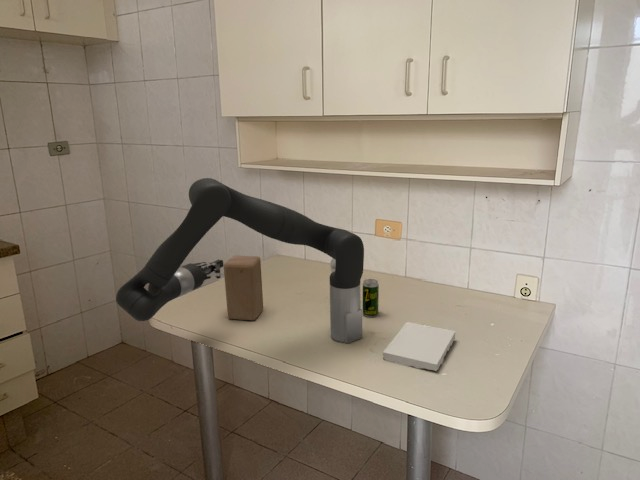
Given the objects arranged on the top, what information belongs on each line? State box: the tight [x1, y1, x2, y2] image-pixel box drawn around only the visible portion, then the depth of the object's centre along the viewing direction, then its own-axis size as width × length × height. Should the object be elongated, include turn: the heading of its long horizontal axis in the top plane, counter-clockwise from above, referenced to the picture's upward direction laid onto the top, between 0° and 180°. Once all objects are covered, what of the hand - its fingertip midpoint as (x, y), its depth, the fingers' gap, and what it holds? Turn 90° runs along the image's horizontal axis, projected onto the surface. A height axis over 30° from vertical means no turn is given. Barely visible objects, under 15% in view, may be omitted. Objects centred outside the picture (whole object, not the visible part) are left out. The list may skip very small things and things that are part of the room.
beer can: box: [362, 278, 380, 319], centre depth 156 cm, size 5×5×12 cm
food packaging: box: [382, 321, 456, 372], centre depth 134 cm, size 15×3×20 cm
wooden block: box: [223, 255, 264, 321], centre depth 158 cm, size 10×10×20 cm
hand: (221, 262), depth 145 cm, fingers closed
